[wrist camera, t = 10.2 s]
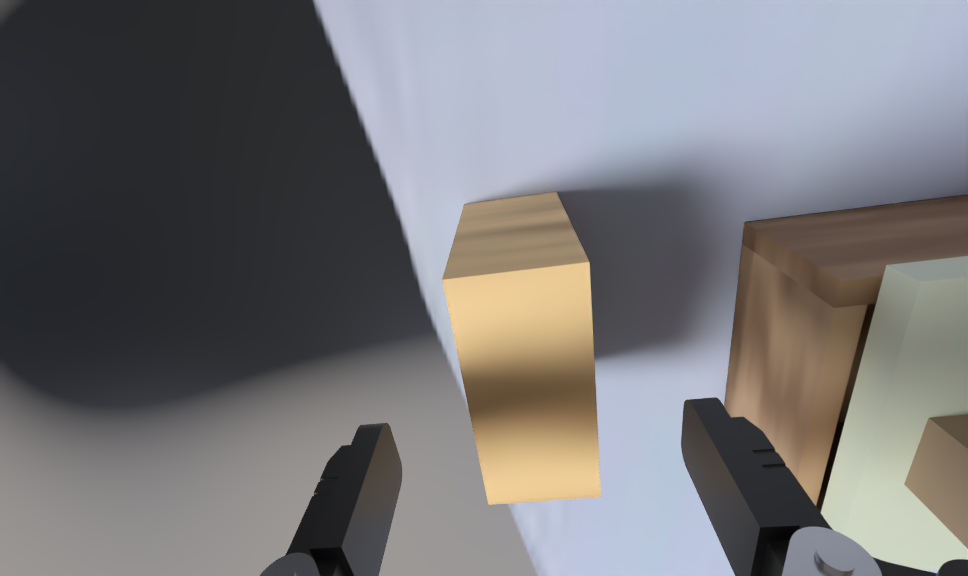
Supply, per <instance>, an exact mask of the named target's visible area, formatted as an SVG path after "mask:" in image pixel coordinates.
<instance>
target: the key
mask: <svg viewBox="0 0 968 576" xmlns="http://www.w3.org/2000/svg"><path fill="white" fill-rule="evenodd" d="M442 281H443V286H444V291H445V295H446V300H447V305H448V310H449V315H450V320H451V325H452V329H453V334H454V339H455V344H456V349H457V354H458V359H459V363H460V368H461V373H462V378H463V383H464V388H465V393H466V397H467V402H468V407H469V412H470V417H471V422H472V427H473V431H474V436H475V441H476V446H477V451H478V456H479V461H480V466H481V470H482V475H483V480H484V485H485V490H486V494H487V499H488V504H489V505H491V504H505V503H519V502H534V501H548V500H562V499H576V498H591V497H601V489H600V468H599V447H598V426H597V405H596V385H595V364H594V343H593V322H592V302H591V281H590V262H589V260H588V258H587V256H586V253H585V251H584V249H583V247H582V245H581V243H580V241H579V239H578V237H577V234H576V232H575V230H574V228H573V226H572V224H571V222H570V220H569V218H568V215H567V213H566V211H565V209H564V207H563V205H562V203H561V201H560V199H559V197H558V194H557V192H550V193H543V194H536V195H528V196H521V197H513V198H506V199H499V200H491V201H484V202H477V203H469V204H464V207H463V210H462V214H461V217H460V221H459V224H458V227H457V231H456V234H455V238H454V241H453V245H452V248H451V252H450V255H449V258H448V262H447V265H446V269H445V272H444V276H443V279H442Z"/></svg>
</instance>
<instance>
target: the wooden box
mask: <svg viewBox="0 0 968 576" xmlns="http://www.w3.org/2000/svg"><path fill="white" fill-rule="evenodd" d="M963 256H968V195H961V196H953V197H945V198H937V199H928V200H920V201H912V202H904V203H896V204H888V205H880V206H872V207H864V208H856V209H848V210H840V211H831V212H823V213H815V214H807V215H799V216H791V217H783V218H775V219H767V220H759V221H751V222H745V223H744V232H743V241H742V250H741V259H740V268H739V277H738V286H737V295H736V304H735V313H734V322H733V331H732V340H731V349H730V358H729V368H728V377H727V386H726V395H725V404H724V407H725V409H726V411H727V412H728V414H729V415H730V417H745V418H746V419H747V420H749V421H750V422H751V423H753V424H754V425H755V426H757V427H758V428H759V429H761V430H762V431H763V432H764V434H765V435H766V437H767V438H768V439H769V441H770V442H771V444H772V445H773V446H774V448H775V451H776V452H778V454H779V455H780V456H781V458H782V459H783V461H784V462H785V463H786V467H788V468H789V469H790V470H791V472H792V473H793V475H794V476H795V478H796V479H797V480H798V482H799V483H800V485H801V486H802V487H803V489H804V490H805V492H806V493H807V494H808V496H809V497H810V499H811V500H812V502H813V503H814V504H815V506H816V507H817V509H818V510H819V511H820V513H821V510H822V506H823V502H824V499H825V495H826V491H827V487H828V484H829V480H830V476H831V472H832V468H833V465H834V461H835V457H836V453H837V450H838V446H839V442H840V438H841V434H842V431H843V427H844V423H845V419H846V416H847V412H848V408H849V404H850V400H851V397H852V393H853V389H854V385H855V382H856V378H857V374H858V370H859V366H860V363H861V359H862V355H863V351H864V348H865V344H866V340H867V336H868V333H869V329H870V325H871V321H872V317H873V314H874V310H875V306H876V302H877V299H878V295H879V291H880V287H881V283H882V280H883V276H884V272H885V268H886V265H891V264H900V263H909V262H918V261H927V260H936V259H945V258H954V257H963Z"/></svg>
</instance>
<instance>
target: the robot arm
mask: <svg viewBox="0 0 968 576" xmlns="http://www.w3.org/2000/svg"><path fill="white" fill-rule="evenodd" d="M681 448H682V454H683V459H684V462H685V465H686V468H687V470H688V472H689V474H690V477H691V479H692V481H693V483H694V485H695V488H696V490H697V492H698V494H699V497H700V499H701V501H702V503H703V505H704V508H705V510H706V512H707V514H708V516H709V519H710V521H711V523H712V525H713V527H714V530H715V532H716V534H717V536H718V538H719V541H720V543H721V545H722V547H723V549H724V552H725V554H726V556H727V558H728V561H729V563H730V565H731V567H732V569H733V572H734V574H735V576H968V560H966V559H954V560H950V561H947V562H946V563H944V564H943V565H942V566H941V567H940V569H939V571H938V573H937V574H936V573H932V572H928V571H924V570H919V569H915V568H911V567H907V566H902V565H898V564H894V563H890V562H886V561H883V560H880V559H877V558H874V557H872V556H871V555H870V554H869V553H868V552H867V551H866V550H865V549H864V548H863V547H862V546H860V545H859V544H858V543H856V542H855V541H854V540H852V539H850V538H849V537H847V536H845V535H843V534H841V533H839V532H837V531H834V530H833V529H832V528H831V527H830V525H829V524H828V523H827V521H826V520H825V519H824V517H823V516H822V514H821V513H820V511H819V510H818V509H817V507H816V506H815V504H814V503H813V502H812V500H811V499H810V497H809V496H808V494H807V493H806V492H805V490H804V489H803V487H802V486H801V485H800V483H799V482H798V480H797V479H796V478H795V476H794V475H793V473H792V472H791V470H790V469H789V468H788V467H786V463H785V462H784V461H783V459H782V458H781V456H780V455H779V454H778V452H776V451H775V448H774V446H773V445H772V444H771V442H770V441H769V439H768V438H767V437H766V435H765V434H764V432H763V431H762V430H761V429H759V428H758V427H757V426H755V425H754V424H753V423H751V422H750V421H749V420H747V419H746V418H745V417H730V415H729V414H728V412H727V411H726V409H725V407H724V406H723V404H722V403H721V401H720V400H719V399H718V398H703V399H691V400H686V401H685V402H684V410H683V423H682V437H681ZM401 482H402V465H401V460H400V457H399V454H398V451H397V447H396V444H395V441H394V438H393V435H392V432H391V428H390V426H389V424H388V423H380V424H367V425H360V426H359V427H358V429H357V431H356V434H355V436H354V439H353V441H352V444H351V445H346V446H341V447H340V448H339V450H338V451H337V452H336V453H335V454H334V455H333V456H332V457H331V458H330V460H329V461H328V463H327V465H326V467H325V469H324V471H323V474H322V476H321V478H320V482H319V483H318V485H317V487H316V489H315V491H314V496H312V498H311V500H310V502H309V505H308V507H307V509H306V512H305V514H304V516H303V518H302V520H301V523H300V525H299V527H298V530H297V531H296V534H295V536H294V538H293V540H292V543H291V545H290V547H289V549H288V551H287V553H286V555H285V556H283V557H281V558H279V559H277V560H276V561H274V562H273V563H272V564H271V565H269V566H268V567H267V568H266V569H265V570H264V571H263V572H262V573H261V574H260V576H378V575H379V571H380V567H381V563H382V559H383V555H384V551H385V547H386V543H387V539H388V535H389V531H390V527H391V523H392V519H393V515H394V511H395V507H396V503H397V499H398V495H399V491H400V487H401Z"/></svg>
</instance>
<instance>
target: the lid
mask: <svg viewBox="0 0 968 576" xmlns="http://www.w3.org/2000/svg"><path fill="white" fill-rule="evenodd" d="M821 514H822V516H823V517H824V519H825V520H826V521H827V523H828V524H829V525H830V527H831V528H832V529H833V530H834V531H837V532H839V533H841V534H843V535H845V536H847V537H849V538H850V539H852V540H854V541H855V542H856V543H858V544H859V545H860V546H862V547H863V548H864V549H865V550H866V551H867V552H868V553H869V554H870V555H871V556H872V557H874V558H877V559H880V560H883V561H886V562H890V563H894V564H898V565H902V566H907V567H911V568H915V569H919V570H924V571H929V570H939V569H940V567H941V566H942V565H943V564H944V563H946V562H947V561H950V560H954V559H966V560H968V256H963V257H954V258H945V259H936V260H927V261H918V262H909V263H900V264H891V265H886V268H885V272H884V276H883V280H882V283H881V287H880V291H879V295H878V299H877V302H876V306H875V310H874V314H873V317H872V321H871V325H870V329H869V333H868V336H867V340H866V344H865V348H864V351H863V355H862V359H861V363H860V366H859V370H858V374H857V378H856V382H855V385H854V389H853V393H852V397H851V400H850V404H849V408H848V412H847V416H846V419H845V423H844V427H843V431H842V434H841V438H840V442H839V446H838V450H837V453H836V457H835V461H834V465H833V468H832V472H831V476H830V480H829V484H828V487H827V491H826V495H825V499H824V502H823V506H822V510H821Z"/></svg>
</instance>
